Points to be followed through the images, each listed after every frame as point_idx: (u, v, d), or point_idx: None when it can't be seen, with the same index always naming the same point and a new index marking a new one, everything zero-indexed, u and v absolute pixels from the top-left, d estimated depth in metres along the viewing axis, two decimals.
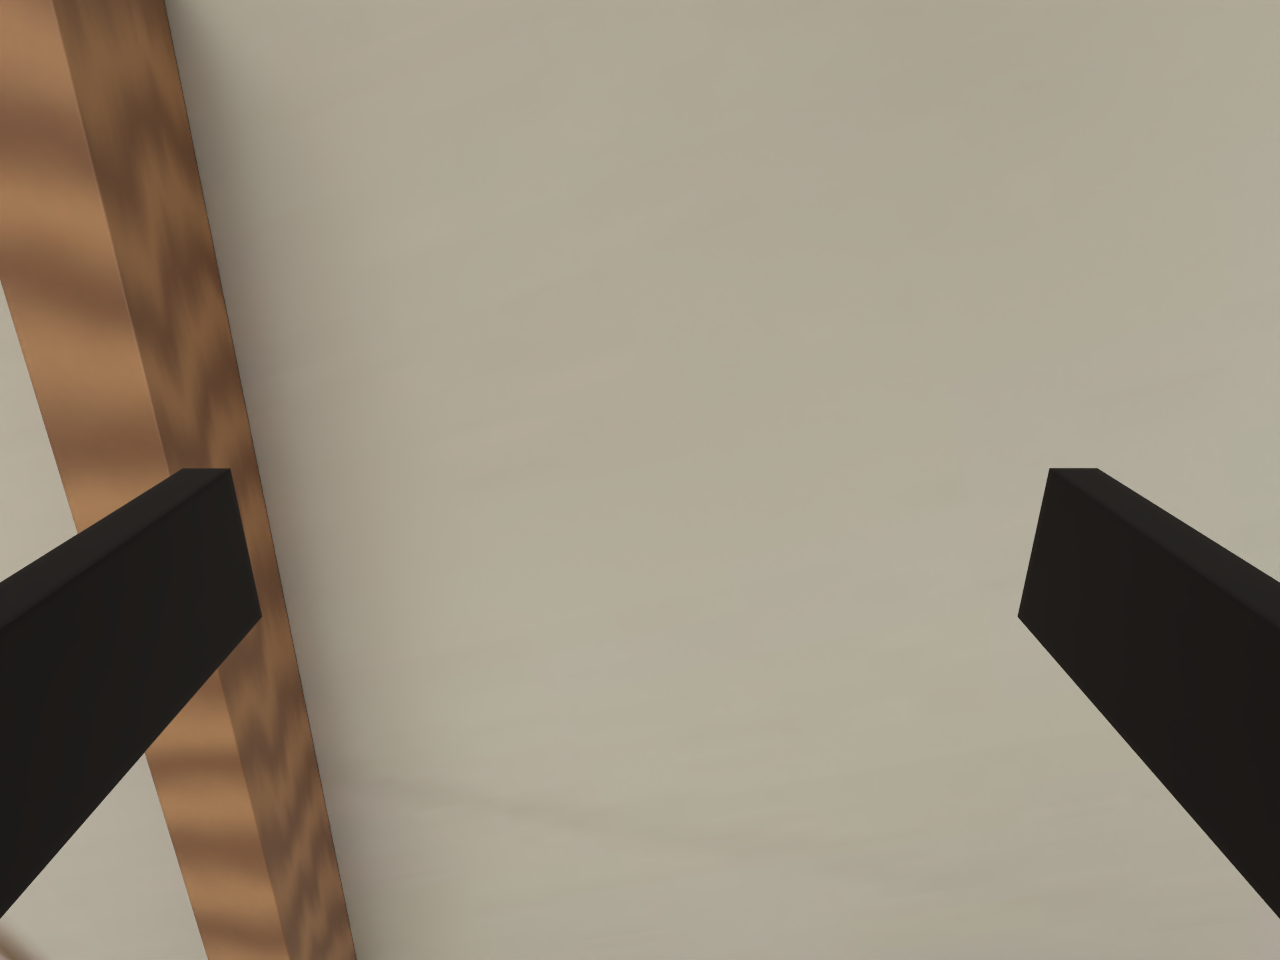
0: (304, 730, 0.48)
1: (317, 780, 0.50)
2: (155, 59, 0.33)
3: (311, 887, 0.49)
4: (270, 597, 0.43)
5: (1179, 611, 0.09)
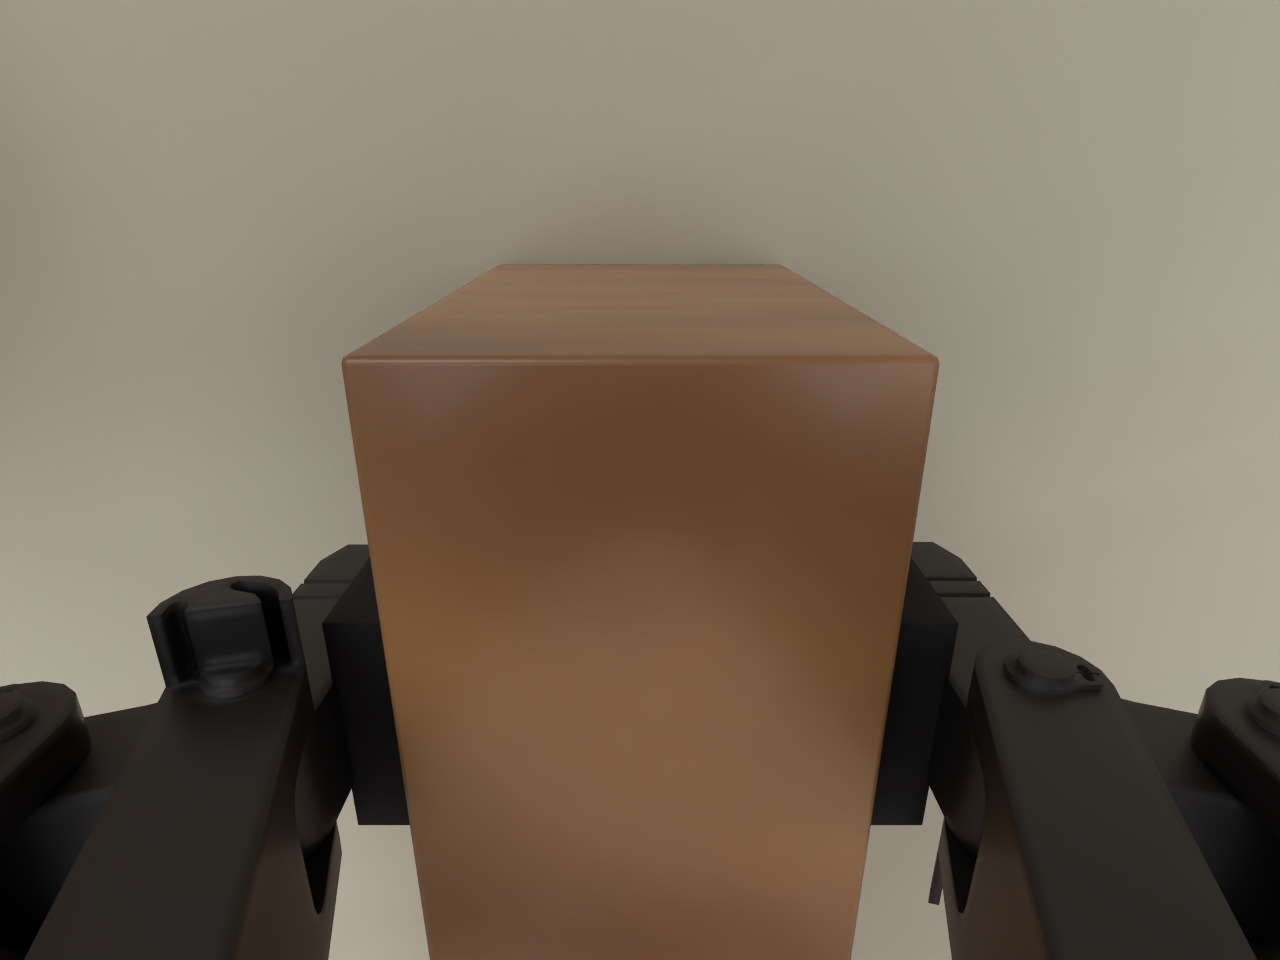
0: None
1: None
2: None
3: None
4: None
5: None
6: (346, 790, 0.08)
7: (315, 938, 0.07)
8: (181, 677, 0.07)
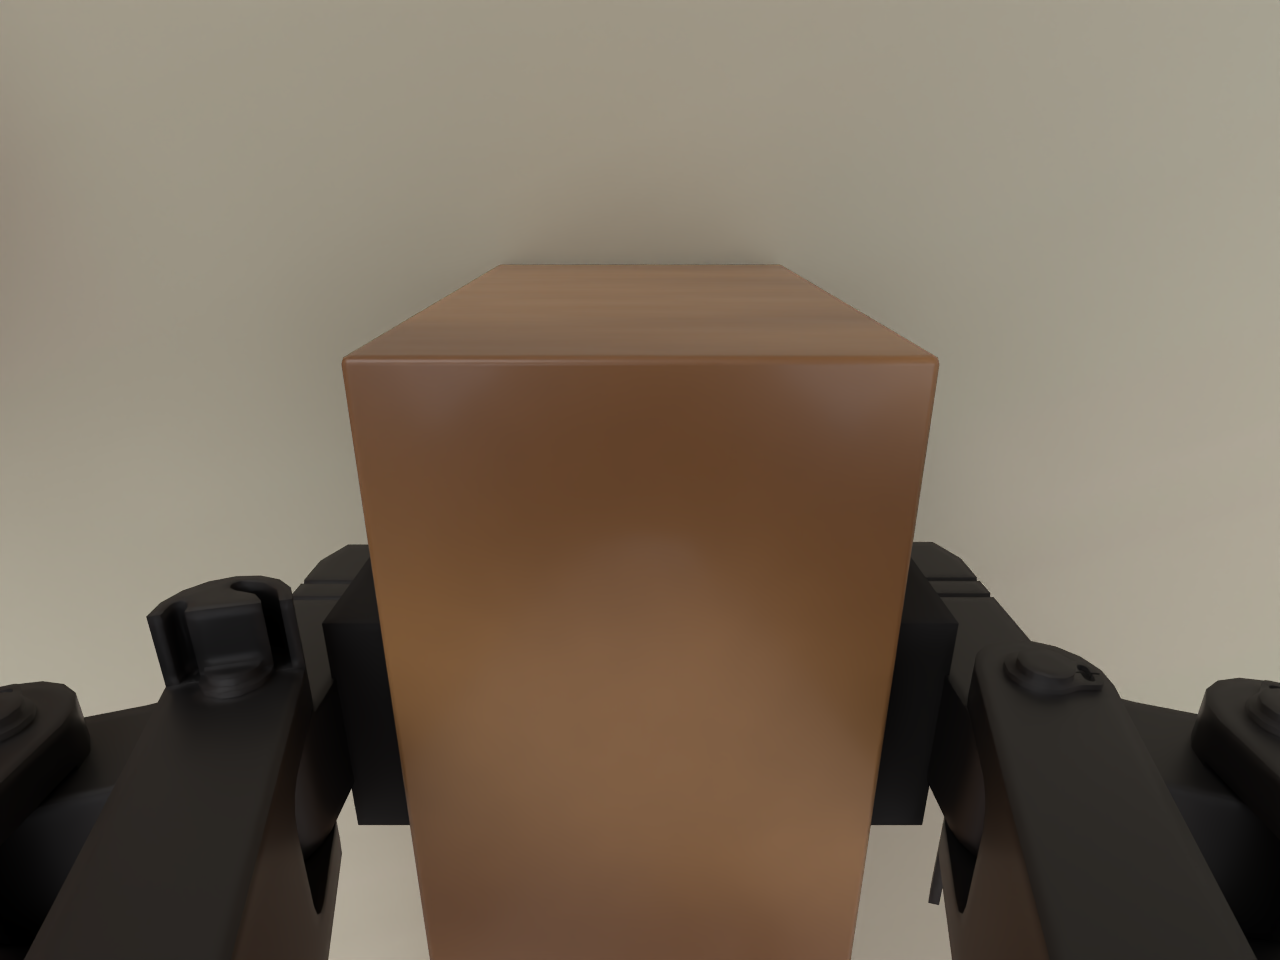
0: None
1: None
2: None
3: None
4: None
5: None
6: (347, 790, 0.08)
7: (315, 938, 0.07)
8: (181, 677, 0.07)
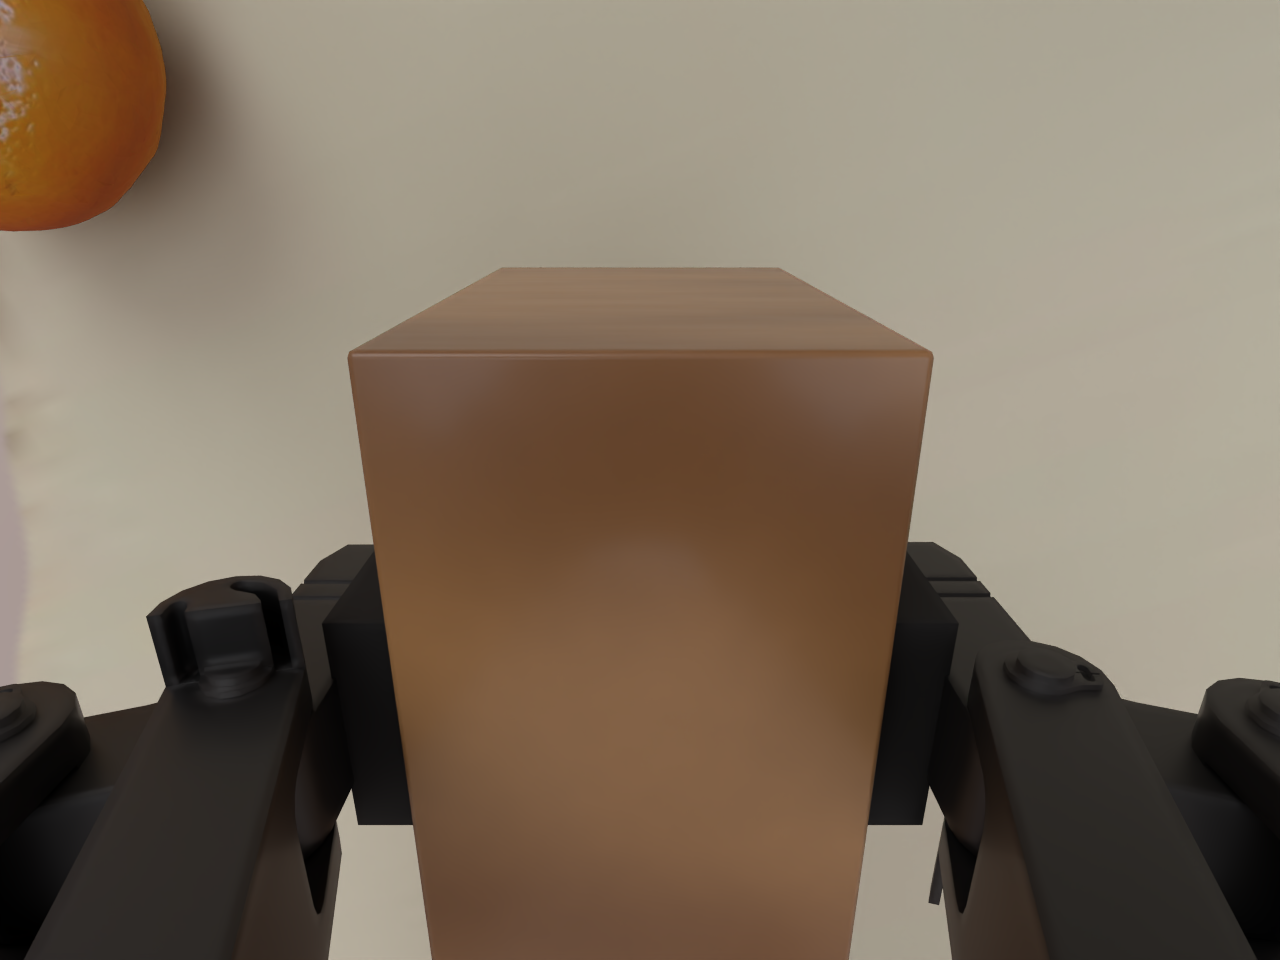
0: None
1: None
2: None
3: None
4: None
5: None
6: (346, 790, 0.08)
7: (315, 938, 0.07)
8: (181, 677, 0.07)
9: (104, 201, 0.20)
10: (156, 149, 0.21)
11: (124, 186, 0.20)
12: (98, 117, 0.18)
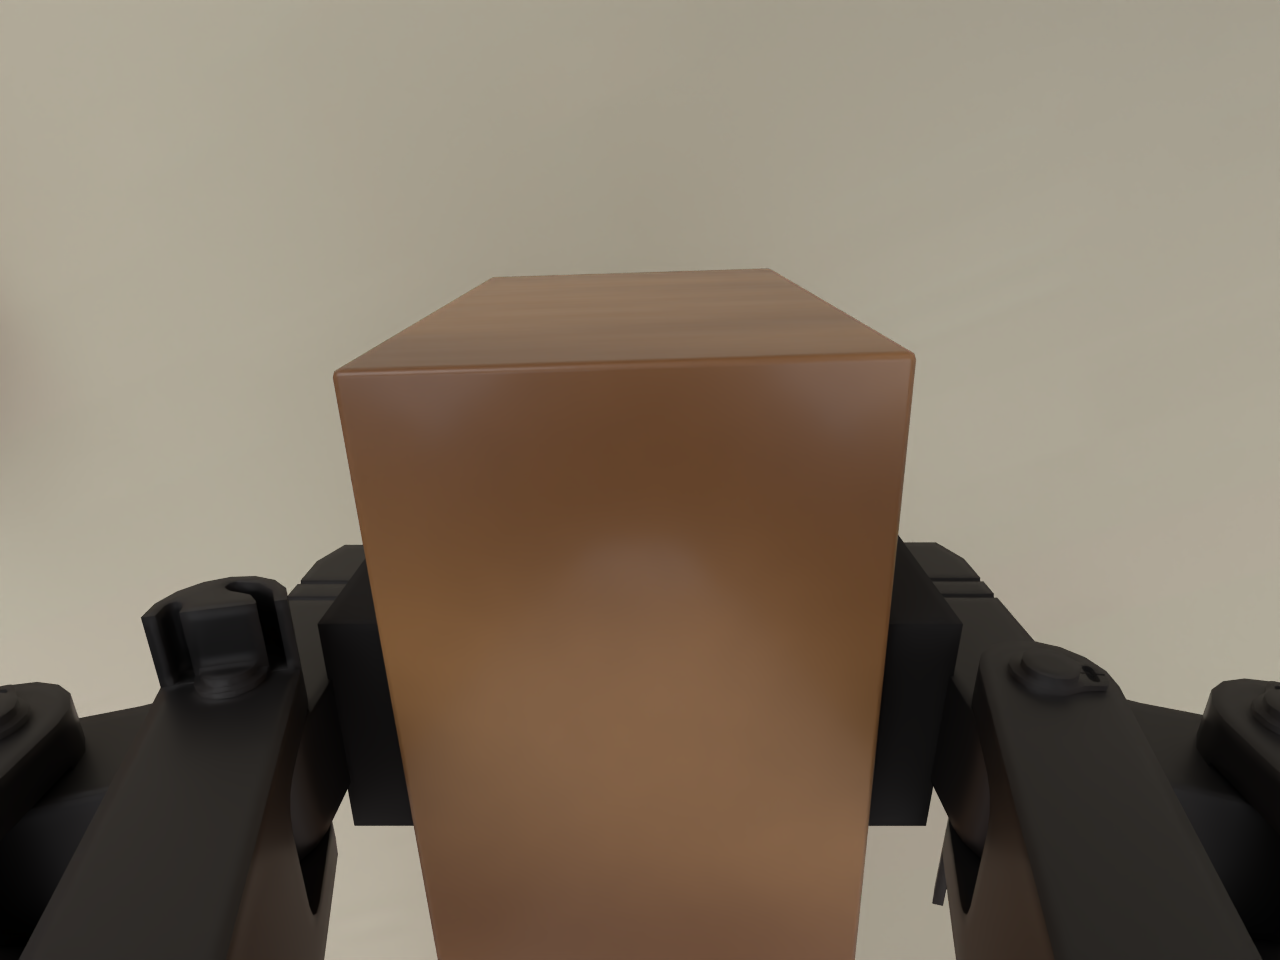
0: None
1: None
2: None
3: None
4: None
5: None
6: (342, 790, 0.08)
7: (311, 939, 0.07)
8: (176, 678, 0.07)
9: None
10: None
11: None
12: None
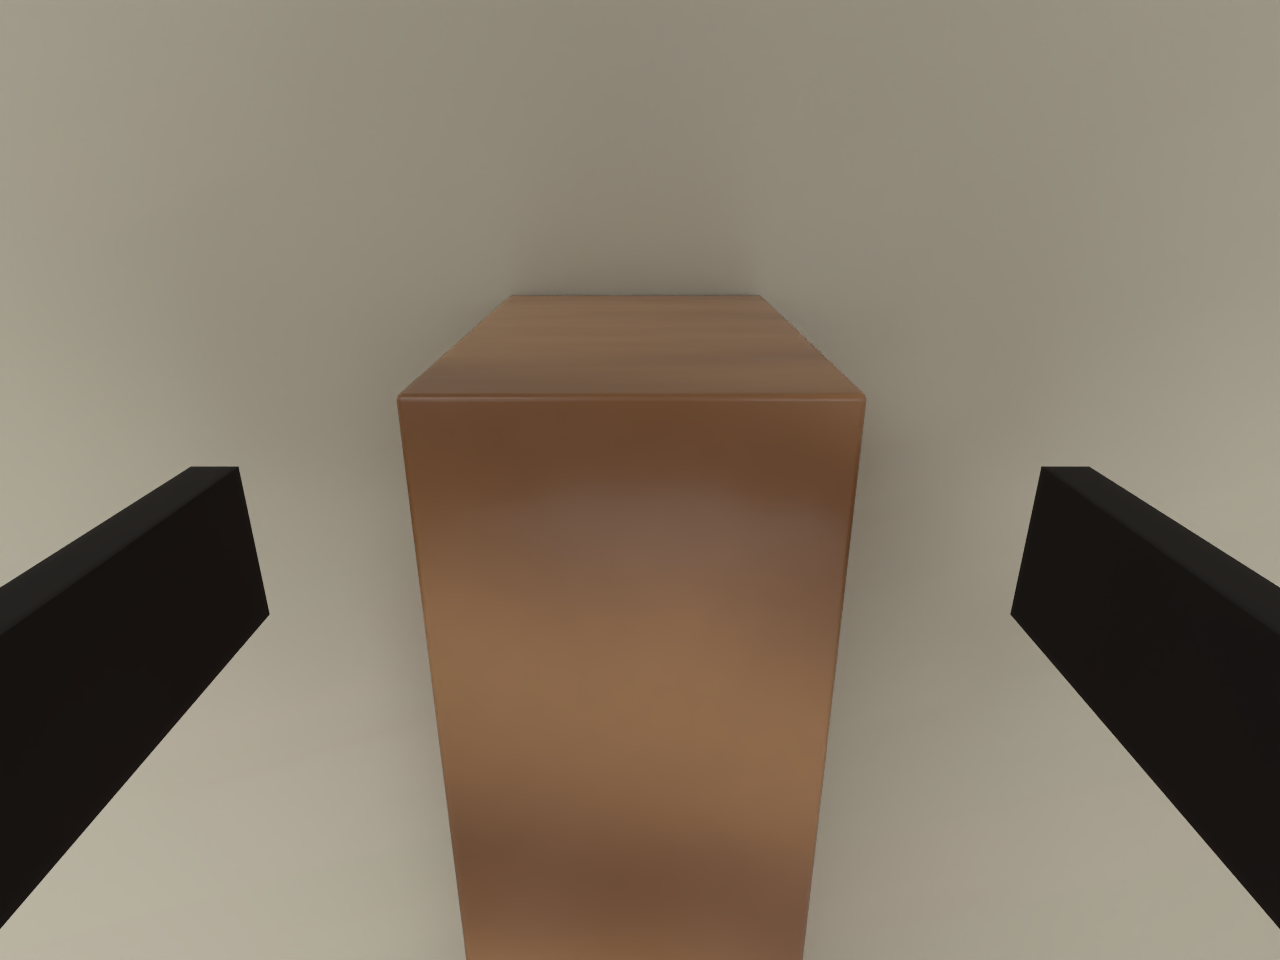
0: None
1: None
2: None
3: None
4: None
5: (1168, 607, 0.09)
6: None
7: None
8: None
9: None
10: None
11: None
12: None
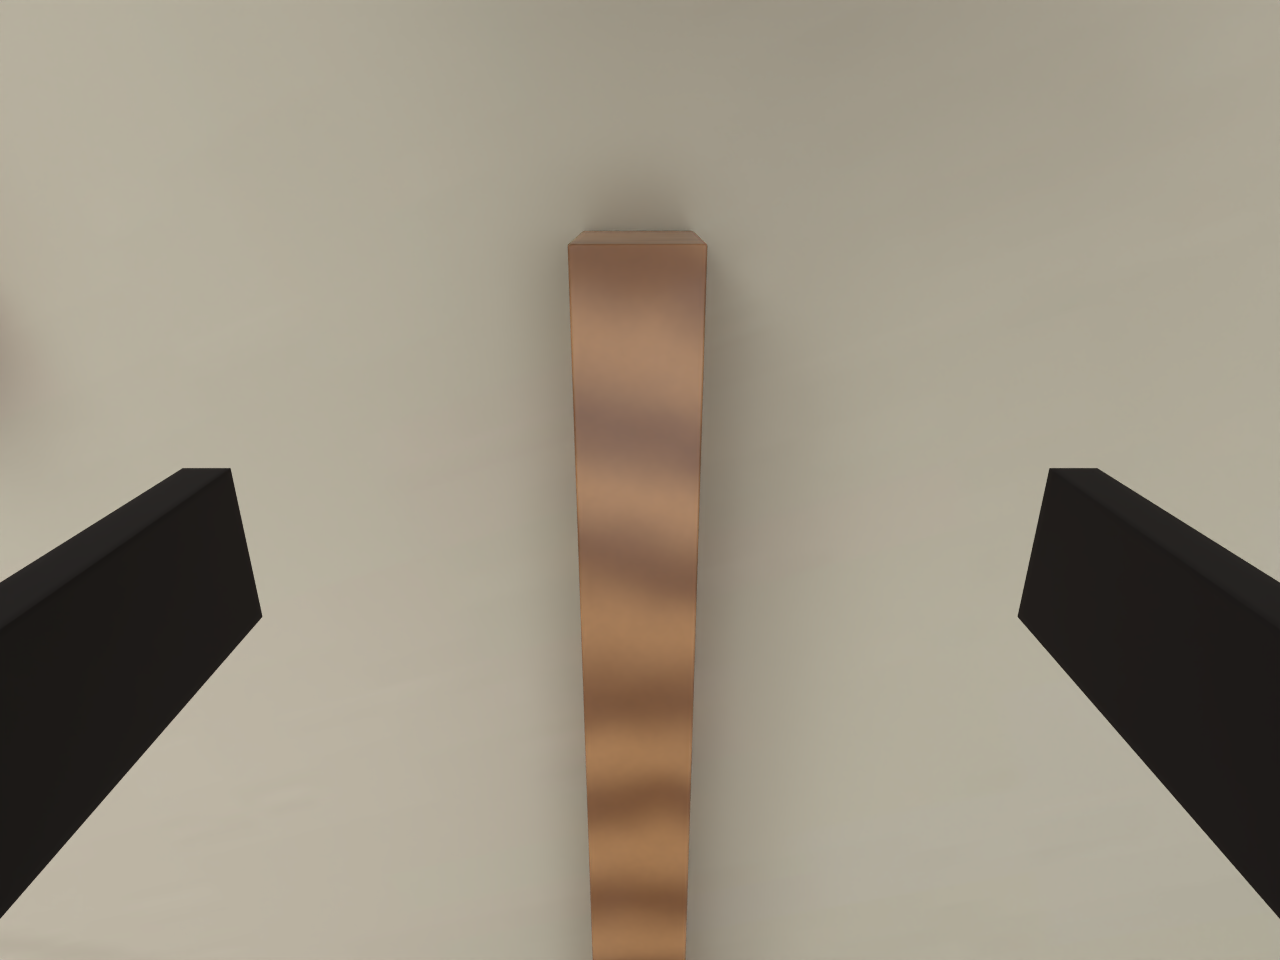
0: None
1: None
2: None
3: None
4: None
5: (1179, 611, 0.09)
6: None
7: None
8: None
9: None
10: None
11: None
12: None
